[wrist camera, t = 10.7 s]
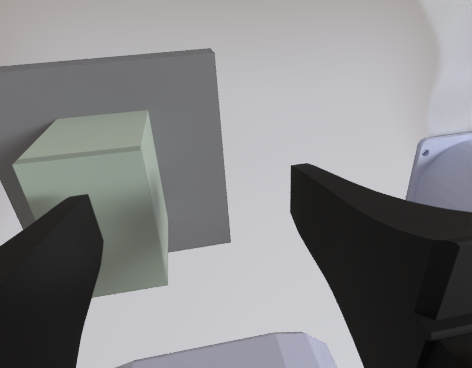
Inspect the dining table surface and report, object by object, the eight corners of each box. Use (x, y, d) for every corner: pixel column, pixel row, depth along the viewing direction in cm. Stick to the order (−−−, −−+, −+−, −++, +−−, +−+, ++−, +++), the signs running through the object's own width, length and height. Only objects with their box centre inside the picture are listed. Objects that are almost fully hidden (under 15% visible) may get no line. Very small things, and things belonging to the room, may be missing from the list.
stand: (226, 225, 24) (230, 242, 22) (52, 251, 23) (43, 272, 21) (210, 48, 18) (214, 52, 16) (-26, 68, 17) (-48, 76, 15)
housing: (147, 110, 17) (139, 150, 12) (168, 220, 21) (167, 285, 16) (56, 119, 17) (12, 164, 12) (93, 230, 20) (69, 301, 15)
